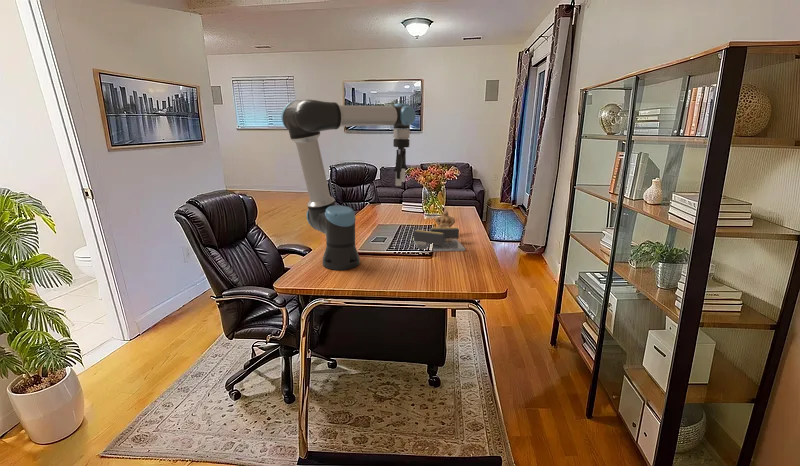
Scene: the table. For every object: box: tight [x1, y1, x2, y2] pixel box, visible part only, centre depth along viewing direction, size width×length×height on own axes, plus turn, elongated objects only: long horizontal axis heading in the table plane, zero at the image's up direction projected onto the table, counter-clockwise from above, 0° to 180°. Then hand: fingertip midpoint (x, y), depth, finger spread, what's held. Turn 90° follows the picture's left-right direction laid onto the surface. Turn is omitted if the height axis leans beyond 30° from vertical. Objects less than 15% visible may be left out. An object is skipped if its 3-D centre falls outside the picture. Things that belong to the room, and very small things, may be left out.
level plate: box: [412, 237, 466, 252], centre depth 181 cm, size 22×16×2 cm
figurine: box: [434, 210, 456, 228], centre depth 199 cm, size 11×9×15 cm
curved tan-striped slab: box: [429, 227, 460, 240], centre depth 186 cm, size 3×14×6 cm, turn 97°
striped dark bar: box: [413, 229, 444, 244], centre depth 179 cm, size 3×14×6 cm, turn 70°
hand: (400, 183), depth 181 cm, fingers open, 13 cm apart
